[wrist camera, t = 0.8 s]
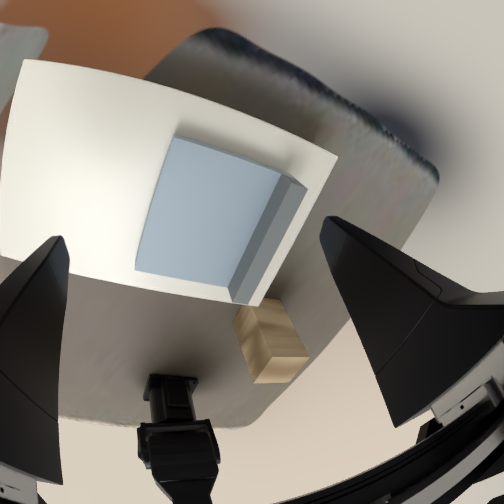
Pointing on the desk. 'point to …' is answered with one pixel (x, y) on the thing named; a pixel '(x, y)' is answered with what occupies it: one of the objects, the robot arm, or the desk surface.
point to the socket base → (123, 168)
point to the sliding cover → (216, 217)
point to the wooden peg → (269, 342)
